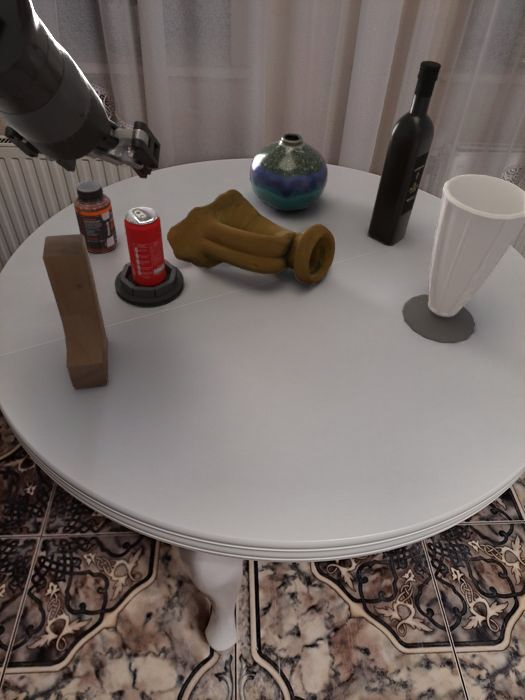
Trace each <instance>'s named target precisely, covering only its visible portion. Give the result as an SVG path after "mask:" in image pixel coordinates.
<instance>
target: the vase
mask: <svg viewBox="0 0 525 700" xmlns="http://www.w3.org/2000/svg"><path fill="white" fill-rule="evenodd" d="M328 174H329V170H328V165H327V162H326V160H325V158H324V156H323V155H322V154H321V152H319V151H318V149H316V148H315V147H313V145H310V144H309V143H307V142H305V141H304V139H303V136H302V135H300V134H298V133H294V132H288V133H284V134H282V135H281V137H280V139H277V140H274V141H272V142H270V143H268V144H266V145H264V146H263V147H261V148H260V149H259V150H257V152H256V153H255V154H254V156H253V158H252V160H251V163H250V167H249V180H250V185H251V188H252V190H253V192H254V194H255V195H256V196H257V198H258V199H259V201H261V202H262V203H263V204H265V205H266V206H268V207H270V208H272V209H275V210H278V211H284V212H295V211H300V210H304V209H306V208H308V207H310V206H312V205H313V204H315V203H316V202H317V201H318V200H319V199H320V197H321V196H322V194H323V193H324V191H325V188H326V186H327V182H328V179H329V178H328V176H329V175H328Z"/></svg>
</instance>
